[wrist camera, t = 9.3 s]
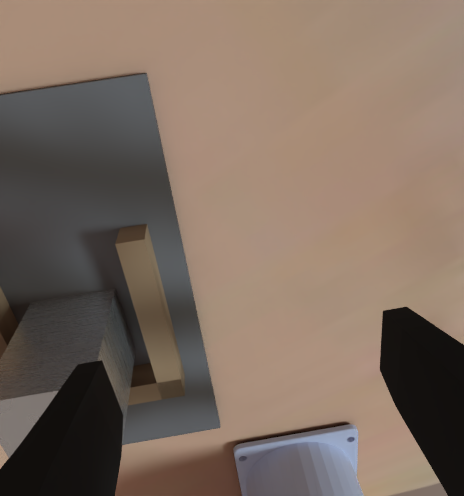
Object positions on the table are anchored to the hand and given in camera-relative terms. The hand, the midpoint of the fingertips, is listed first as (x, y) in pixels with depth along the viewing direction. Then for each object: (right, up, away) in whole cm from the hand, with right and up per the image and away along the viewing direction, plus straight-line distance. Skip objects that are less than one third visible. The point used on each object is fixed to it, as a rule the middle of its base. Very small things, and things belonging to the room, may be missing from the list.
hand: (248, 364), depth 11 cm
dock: (-8, 0, +10) cm, 12 cm away
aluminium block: (-8, -1, +10) cm, 13 cm away
